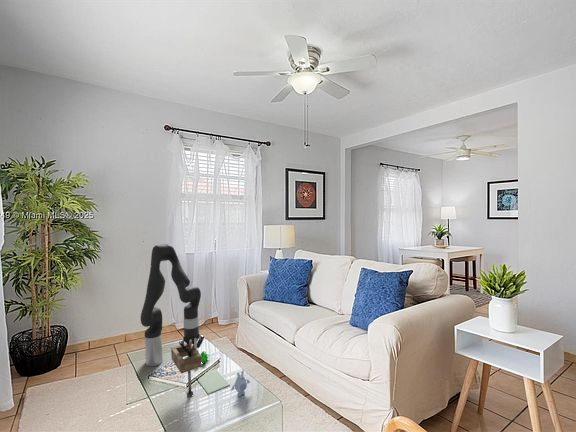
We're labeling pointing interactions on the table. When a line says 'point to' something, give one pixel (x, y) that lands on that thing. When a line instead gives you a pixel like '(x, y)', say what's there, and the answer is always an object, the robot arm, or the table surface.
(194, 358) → the brown wooden open box
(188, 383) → the post stand
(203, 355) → the green lumpy cluster
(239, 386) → the toy figure
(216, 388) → the mat
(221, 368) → the table surface
